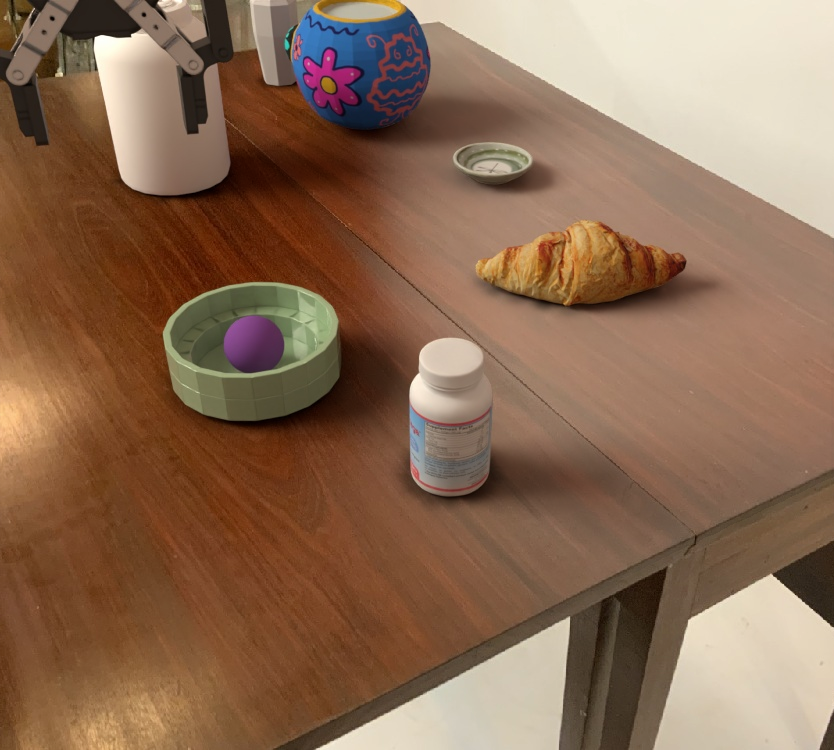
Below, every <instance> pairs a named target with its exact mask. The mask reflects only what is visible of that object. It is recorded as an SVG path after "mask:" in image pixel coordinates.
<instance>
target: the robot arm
mask: <svg viewBox="0 0 834 750" xmlns="http://www.w3.org/2000/svg"><path fill="white" fill-rule="evenodd" d="M158 1H159V0H26V2H27V3H29V5H31V7H33V8H32V10H31V12H30V13H29V15H28V16H27V18H26V21H25V22H24V24H23V27H22V29H21V32H20V33H19V35H18V37H17V39H16V40H15V41H14V44H13V45H12V47H11V49H10V50H6V49H3V48H0V80H2V81H4V82H5V83H6V84H7V85H8V87H9V91H10V94H11V98H12V102H13V107H14V111H15V116H16V119H17V123H18V124H17V125H18V129H19V130H20V132H21V133H22V135H23V136H24V137H25V138H31V137H33V138H34V142H35V146H36V147H41V146H42V147H43V146H44V147H45V146H50V133H49V127H48V123H47V118H46V114H45V110H44V105H43V99H42V95H41V91H40V86H39V81H38V76H37V73H36V72H35V71H36V70H37V68H38V66H39V64H40V63H41V61H42V59H43V58H44V56H46V55H47V54H48V52H49V50H50V49H51V47H52V45H53V43H54V42H55V40H56V39H57V37H58V35H59V33H60V34H62V35H64V36H66V37H70V38H72V41H87V40H91V39H95V37H98V36H101V35H104V36H109V37H114V38H132V37H131V34H134V33H136V32H138V31H139V30H141V29H143V30H144V31H145V32H146V33H147V34H148V35H149V36H150V37H151V38H152V39H153V40H154V41H155V42H156V43H157V44H158V45H159V46H160V47H161V48H162V49H164V50H165V51H166V52H167V53H168V54H169V55H170V56H171V57H172V58H173V59H174V60H175V61H176V62H177V63H178V64H179V65H176V69H177V77H178V84H179V92H180V99H181V107H182V114H183V121H184V126H185V129H186V132H187V135H188V134H199V129H198V124H206V121H207V118H208V110H207V101H206V93H205V84H204V73H205V71H206V69H207V68H208V67H210V66H211V65H214V64H216V63H217V64H218V63H222V64H226V63H228V62H231V61H232V59H233V58H234V55H235V52H234V45H233V40H232V39H233V38H232V33H231V27H230V26H231V25H230V21H229V15H228V9H227V8H228V7H227V2H226V0H199V1H200V6H201V7H200V8H201V13H202V18H203V24H205V30H206V37H204V38H202V39H199V40H197V41H195V42H192V41H191V40H190V39H189V38H188V37H187V36H186V35H185V34H184V32H183V31H182V30H181V29H180V28H179V27H178V26H177V25H176V24H175V23H174V21H173V20H172V19H171V17H170V16H169V15H168V14H167V13H166V12H165V11H164V10H163V9H162V8H161V6H160V5H159V4H158Z"/></svg>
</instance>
